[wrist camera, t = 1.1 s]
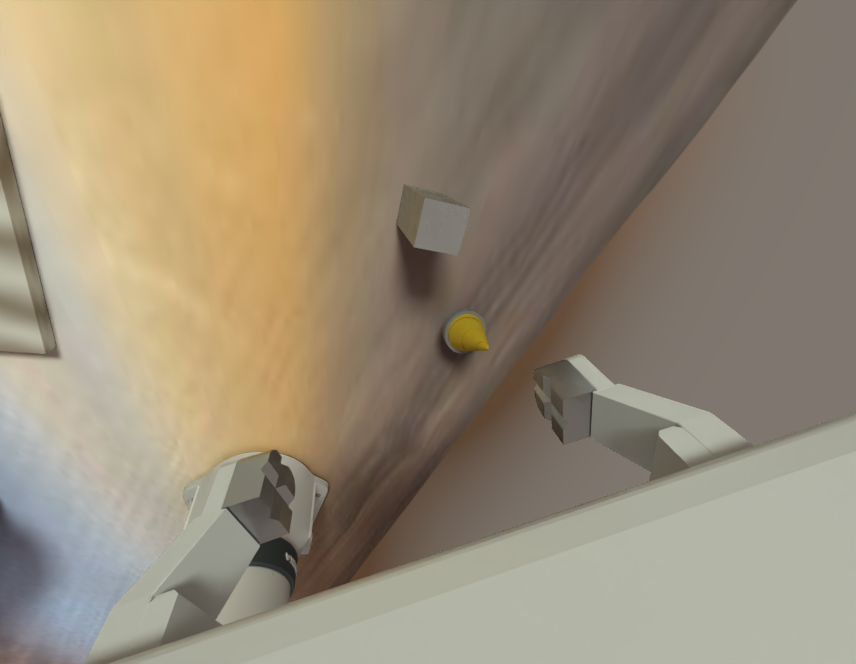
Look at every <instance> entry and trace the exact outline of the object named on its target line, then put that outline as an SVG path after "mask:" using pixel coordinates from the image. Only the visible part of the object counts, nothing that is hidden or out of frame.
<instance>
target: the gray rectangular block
mask: <svg viewBox="0 0 856 664" xmlns="http://www.w3.org/2000/svg"><path fill="white" fill-rule="evenodd" d="M470 211H471V208H469V207H467V206H465V205H463V204H461V203H459V202H457V201H455V200H453V199H451V198H449V197H447V196H445V195H443V194H441V193H438V192H434V191H430V190H426V189H421V188H417V187H413V186H409V185H405V184H404V187H403V192H402V197H401V202H400V207H399V212H398V217H397V225H398V226H399V228H400V229H401V230H402V232H403V233H404V234H405V236H406V237H407V239H408V240H409V241H410V243H411V244H412V245H413V247H415V248H420V249H425V250H430V251H436V252H441V253H446V254H451V255H457V256H458V254H459V250H460V246H461V243H462V239H463V236H464V232H465V229H466V225H467V221H468V218H469V214H470Z"/></svg>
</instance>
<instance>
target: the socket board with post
mask: <svg viewBox="0 0 856 664" xmlns="http://www.w3.org/2000/svg"><path fill="white" fill-rule="evenodd" d="M55 347H56V344H55V340H54V336H53V331H52V327H51V323H50V319H49V315H48V311H47V307H46V302H45V298H44V294H43V290H42V286H41V282H40V278H39V273H38V269H37V265H36V261H35V257H34V253H33V249H32V244H31V240H30V236H29V232H28V228H27V224H26V220H25V215H24V211H23V207H22V203H21V199H20V195H19V191H18V187H17V182H16V178H15V174H14V170H13V166H12V162H11V158H10V153H9V149H8V145H7V141H6V137H5V133H4V129H3V124H2V120H1V116H0V351H8V352H22V353H36V354H47V353H48V352H49V351H51V350H52V349H53V348H55Z"/></svg>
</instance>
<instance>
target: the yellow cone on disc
mask: <svg viewBox="0 0 856 664" xmlns="http://www.w3.org/2000/svg"><path fill="white" fill-rule="evenodd" d="M442 336H443V340H444V342H445V343H446V345H447V346H448V347H449V348H450V349H451V350H453V351H454V352H457V353H461V354H465V353H470V352H472V351H481V350H488V349H489V346H488V342H487V338H486V324H485V321H484V320H483V318H482V317H481V316H480V315H479V314H478V313H476V312H474V311H472V310H469V309H461V310H457V311H455V312H454V313H452V314H451V315H450V316H449V317H448V318H447V319H446V321H445V323H444V325H443V329H442Z"/></svg>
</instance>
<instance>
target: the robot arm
mask: <svg viewBox="0 0 856 664" xmlns="http://www.w3.org/2000/svg"><path fill="white" fill-rule="evenodd" d="M533 379H534V380H535V382H536V383H537V386H536V388H535V389H534V392H535V399H536V402H537V405H538V408H539V410H540V412H541V413H542V415H543V416H544V418H546V419H548V420H550V421H552V429H553V431H554V432H555V434H556V435H557V436H558V437H559V439H560V441H561V442H562V443H563V445H564V444H568V443H571V442H574V441H578V440H581V439H585V438H588V437H591V439H593V440H594V441H596V442H598V443H600V444H602V445H603V446H605V447H607V448H609V449H611V450H612V451H614V452H616V453H618V454H620V455H621V456H623V457H625V458H627V459H629V460H630V461H632V462H634V463H636V464H638V465H639V466H641V467H643V468H645V469H647V470H649V471H650V472H651V474H650V480H649V482H646V483H643V484H640V485H637V486H634V487H631V488H628V489H625V490H622V491H619V492H616V493H613V494H610V495H607V496H604V497H601V498H598V499H595V500H593V501H589V502H586V503H583V504H580V505H578V506H574V507H572V508H569V509H566V510H563V511H560V512H557V513H554V514H551V515H548V516H545V517H542V518H539V519H536V520H533V521H530V522H527V523H524V524H522V525H519V526H516V527H512V528H510V529H506V530H503V531H501V532H498V533H495V534H492V535H489V536H486V537H483V538H480V539H477V540H474V541H471V542H468V543H465V544H462V545H459V546H456V547H453V548H450V549H447V550H444V551H441V552H439V553H435V554H433V555H430V556H427V557H424V558H421V559H418V560H415V561H412V562H409V563H406V564H403V565H400V566H397V567H394V568H391V569H388V570H385V571H382V572H379V573H376V574H373V575H370V576H367V577H364V578H361V579H359V580H355V581H352V582H349V583H346V584H343V585H340V586H337V587H334V588H331V589H328V590H326V591H323V592H320V593H317V594H314V595H311V596H308V597H305V598H302V599H299V600H296V601H293V602H290V603H289V599H290V597H291V595H292V593H293V591H294V587H295V582H296V577H297V561H298V557H299V555H307V554H308V553H309V550H310V546H311V541H312V536H313V533H312V525H313V522H314V520H315V518H316V516H317V514H318V512H319V509H320V507H321V505H322V503H323V501H324V499H325V496H326V494H327V492H328V487H329V484H328V483H327V482H326V481H325V480H323V479H321V478H319V477H316V476H314V475H313V474H312V473H311V472H310V471H309V470H308V469H307V467H306V466H305V465H303V464H302V463H301V462H299V461H298V460H296V459H294V458H292V457H289V456H287V455H283V454H279V452H278V451H277V450H270V451H267V452H251V453H245V454H240V455H237V456H234V457H231V458H229V459H226V460H224V461H223V462H221V463H219V464H218V465H217V466H215V467H214V468H213V469H212V470H211V471H210V472H209V473H208V474H207V475H206V476H204V477H203V478H200V479H198V480H196V481H193V482H191V483H189V484H188V485H186V486H185V488H184V492H183V498H184V500H185V502H186V505H187V507H188V509H189V514H188V517H187V520H186V523H185V526H184V529H183V532H182V533H181V534H180V535H179V536H178V537H177V538H176V539H175V541H174V542H173V543H172V544H171V545H170V546H169V547H168V548H167V549H166V550H165V551H164V552H163V554H162V555H161V556H160V557H159V558H158V559H157V560H156V561H155V562H154V563H153V564H152V565H151V567H150V568H149V569H148V570H147V571H146V572H145V573H144V574H143V575H142V576H141V577H140V578H139V580H138V581H137V582H136V583H135V584H134V585H133V586H132V587H131V588H130V589H129V590H128V591H127V593H126V594H125V595H124V596H123V597H122V598H121V599H120V600H119V601H118V602H117V603H116V604H115V606H114V607H113V608H112V609H111V611H110V613H109V615H108V617H107V619H106V621H105V623H104V626H103V628H102V630H101V632H100V634H99V636H98V638H97V640H96V642H95V644H94V646H93V648H92V650H91V652H90V654H89V656H88V658H87V660H86V662H85V664H856V412H853V413H850V414H847V415H844V416H841V417H838V418H835V419H832V420H829V421H827V422H824V423H821V424H818V425H815V426H812V427H809V428H806V429H803V430H800V431H797V432H794V433H791V434H789V435H785V436H783V437H779V438H776V439H773V440H770V441H767V442H764V443H761V444H758V445H755V446H753V445H752V444H751V443H749V442H748V441H747V440H745V439H744V438H743V437H742V436H740V435H739V434H738V433H736V432H735V431H734V430H733V429H731V428H730V427H729V426H727V425H726V424H725V423H723V422H722V421H721V420H719V419H718V418H717V417H716V416H714V415H713V414H712V413H710V412H707V411H704V410H700V409H698V408H694V407H691V406H688V405H685V404H682V403H678V402H675V401H672V400H669V399H666V398H663V397H660V396H656V395H653V394H650V393H647V392H644V391H640V390H637V389H634V388H631V387H628V386H624V385H622V384H617V385H614V384H613V383H612V382H611V381H610V380H609V379H608V378H606V377H605V376H604V375H603V374H602V373H601V372H600V371H599V370H598V369H597V368H596V367H595V366H594V365H593V364H591V363H590V362H589V361H588V360H587V359H586V358H585V357H584V356H583V355H580V354H579V355H576V356H573V357H569V358H566V359H564V360H561V361H558V362H555V363H552V364H548V365H545V366H542V367H539V368H536V369H534V371H533Z"/></svg>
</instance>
